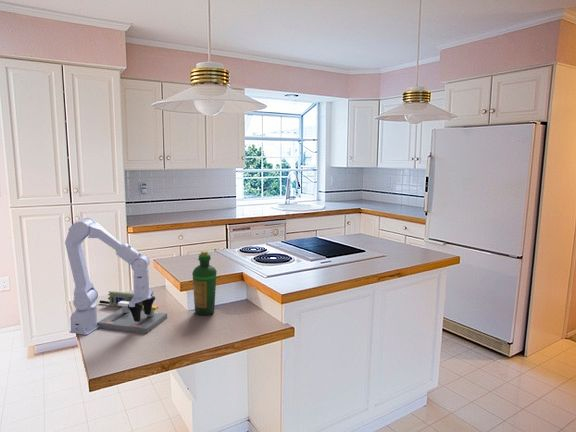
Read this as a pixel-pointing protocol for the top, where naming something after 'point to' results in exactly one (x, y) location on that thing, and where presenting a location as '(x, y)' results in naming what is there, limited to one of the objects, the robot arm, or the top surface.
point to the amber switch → (152, 310)
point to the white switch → (124, 306)
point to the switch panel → (132, 321)
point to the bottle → (204, 285)
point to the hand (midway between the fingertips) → (142, 317)
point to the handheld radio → (119, 298)
